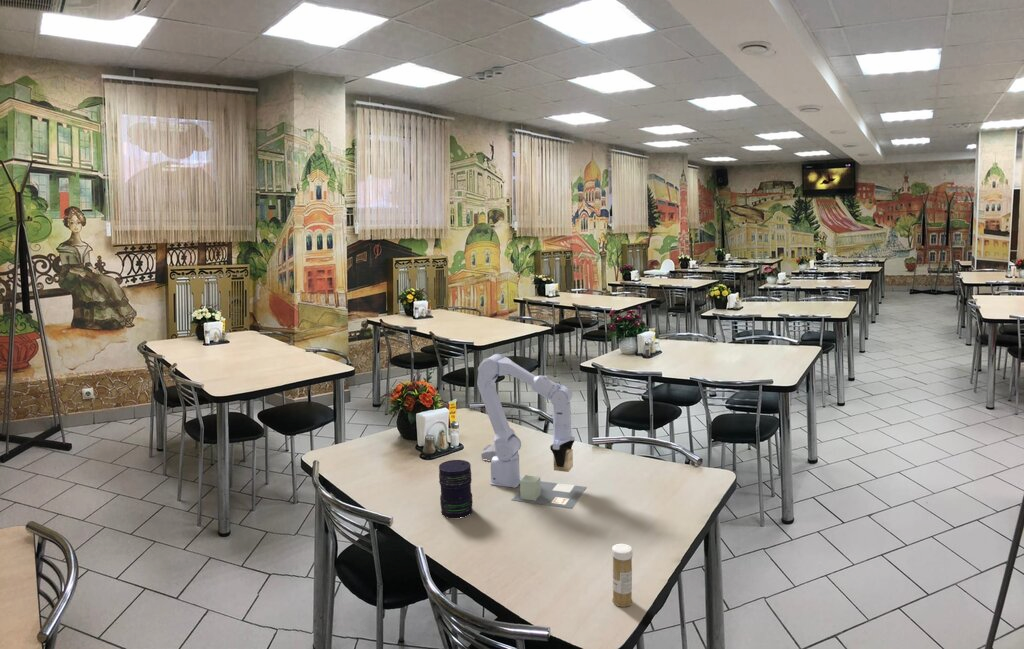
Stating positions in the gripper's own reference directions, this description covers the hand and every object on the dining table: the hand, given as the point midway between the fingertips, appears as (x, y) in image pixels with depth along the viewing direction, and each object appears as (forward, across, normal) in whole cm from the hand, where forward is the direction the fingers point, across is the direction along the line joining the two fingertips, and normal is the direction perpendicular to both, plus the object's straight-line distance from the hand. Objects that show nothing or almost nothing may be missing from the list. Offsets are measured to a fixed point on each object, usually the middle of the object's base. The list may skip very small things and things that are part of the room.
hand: (562, 463), depth 211 cm
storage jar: (+9, -27, +26) cm, 38 cm away
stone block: (+9, +22, +34) cm, 41 cm away
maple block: (+2, 0, 0) cm, 2 cm away
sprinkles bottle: (+9, -58, -32) cm, 67 cm away
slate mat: (+9, -5, +3) cm, 11 cm away
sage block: (+9, -10, +8) cm, 15 cm away
